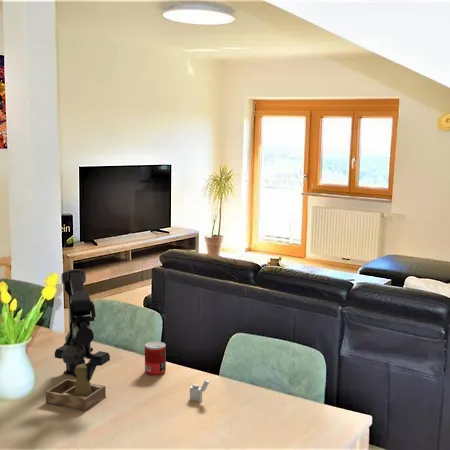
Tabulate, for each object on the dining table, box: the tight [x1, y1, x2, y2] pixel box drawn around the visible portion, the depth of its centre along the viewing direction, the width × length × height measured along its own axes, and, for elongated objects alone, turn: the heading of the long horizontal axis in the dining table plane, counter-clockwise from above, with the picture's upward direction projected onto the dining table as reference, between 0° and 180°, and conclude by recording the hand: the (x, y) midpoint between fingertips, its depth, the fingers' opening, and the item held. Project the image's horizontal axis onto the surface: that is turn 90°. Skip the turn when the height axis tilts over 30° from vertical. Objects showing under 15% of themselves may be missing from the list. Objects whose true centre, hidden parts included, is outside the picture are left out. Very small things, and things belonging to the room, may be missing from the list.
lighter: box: [189, 378, 211, 402], centre depth 210 cm, size 7×2×8 cm, turn 65°
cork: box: [74, 363, 92, 397], centre depth 208 cm, size 6×6×11 cm
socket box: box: [44, 378, 107, 412], centre depth 210 cm, size 16×12×4 cm
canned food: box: [144, 340, 167, 377], centre depth 234 cm, size 8×8×11 cm
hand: (82, 379), depth 208 cm, fingers closed on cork, 5 cm apart
